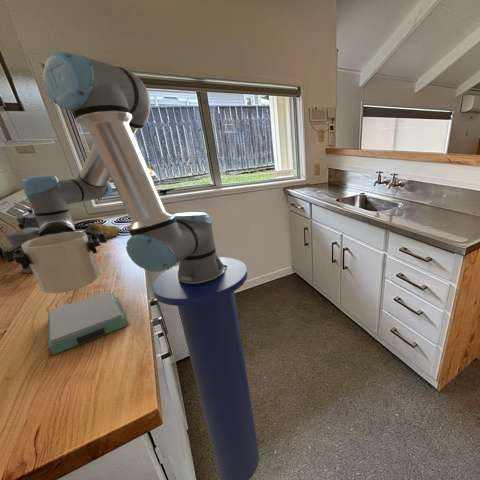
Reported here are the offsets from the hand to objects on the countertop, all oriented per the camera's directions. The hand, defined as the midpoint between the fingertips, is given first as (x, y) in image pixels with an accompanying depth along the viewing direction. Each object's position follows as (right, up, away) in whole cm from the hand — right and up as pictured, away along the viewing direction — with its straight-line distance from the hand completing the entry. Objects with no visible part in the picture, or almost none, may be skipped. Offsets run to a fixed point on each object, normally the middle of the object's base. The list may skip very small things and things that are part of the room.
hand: (60, 255), depth 59 cm
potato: (-51, +4, +73) cm, 89 cm away
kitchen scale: (-2, -19, +9) cm, 21 cm away
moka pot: (-60, -3, +54) cm, 81 cm away
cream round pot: (-3, -7, +6) cm, 10 cm away
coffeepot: (-48, -8, +41) cm, 64 cm away
